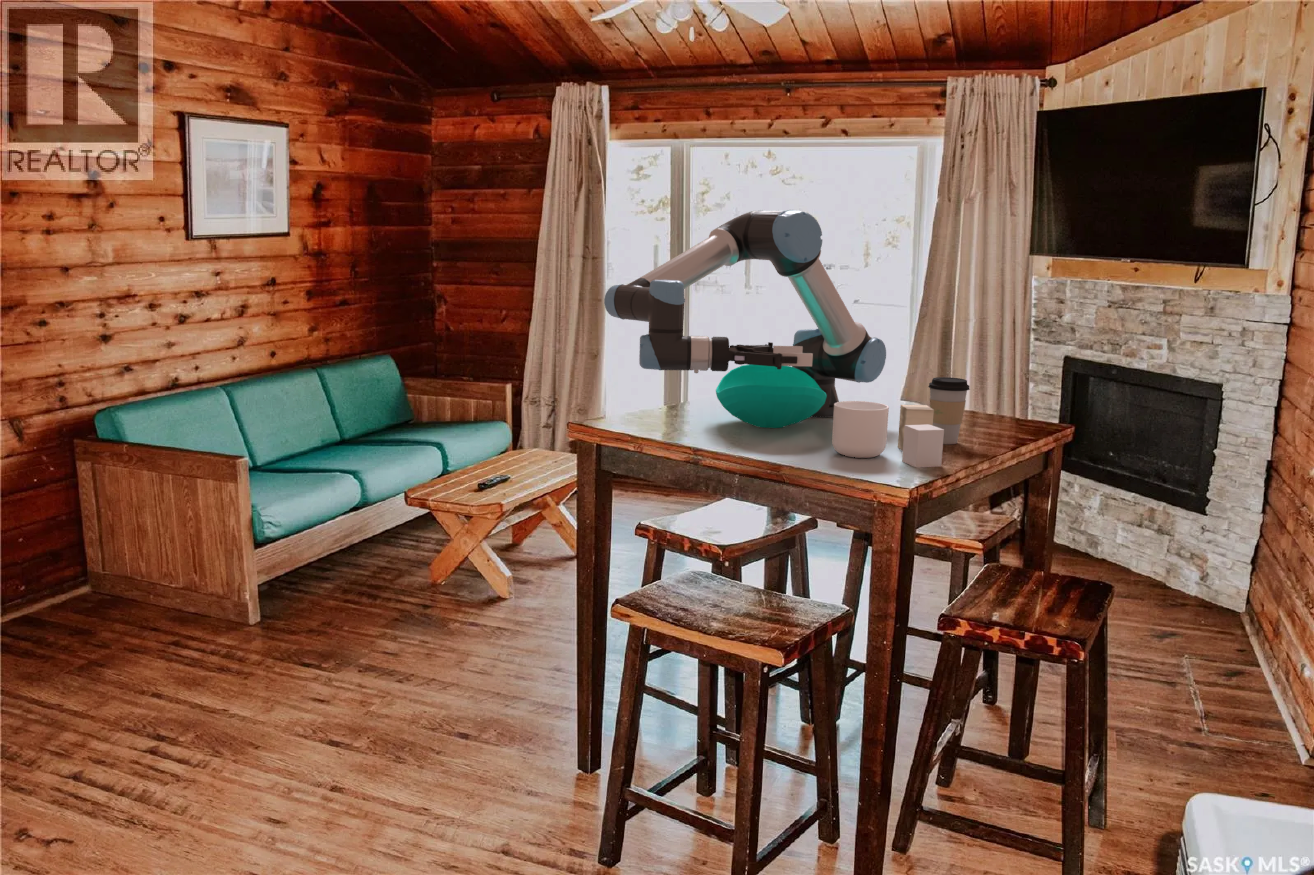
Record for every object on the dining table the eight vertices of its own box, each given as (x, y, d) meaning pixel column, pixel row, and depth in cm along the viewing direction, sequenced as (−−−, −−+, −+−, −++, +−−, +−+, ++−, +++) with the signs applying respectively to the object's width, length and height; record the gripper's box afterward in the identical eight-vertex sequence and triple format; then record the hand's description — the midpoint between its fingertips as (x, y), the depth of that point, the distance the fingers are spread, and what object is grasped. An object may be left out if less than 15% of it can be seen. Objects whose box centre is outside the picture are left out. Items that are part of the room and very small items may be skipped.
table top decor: (834, 443, 242) (837, 387, 239) (715, 440, 243) (717, 384, 240) (815, 413, 281) (818, 365, 278) (713, 410, 282) (715, 362, 279)
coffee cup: (916, 441, 247) (921, 378, 244) (937, 436, 254) (942, 375, 251) (952, 447, 240) (957, 383, 237) (972, 442, 247) (978, 380, 244)
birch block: (897, 447, 240) (900, 404, 238) (923, 447, 240) (926, 405, 238) (904, 452, 234) (907, 409, 232) (930, 453, 234) (933, 409, 232)
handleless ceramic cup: (883, 462, 224) (886, 411, 221) (828, 458, 227) (830, 407, 225) (887, 451, 235) (890, 403, 233) (834, 447, 238) (837, 399, 236)
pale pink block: (902, 461, 225) (904, 425, 224) (926, 460, 227) (929, 424, 225) (916, 467, 220) (918, 430, 218) (941, 466, 221) (944, 429, 220)
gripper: (705, 363, 239) (797, 365, 239) (713, 379, 214) (815, 381, 215) (706, 331, 237) (799, 333, 238) (714, 342, 213) (817, 345, 213)
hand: (807, 356), depth 226 cm, fingers open, 13 cm apart
